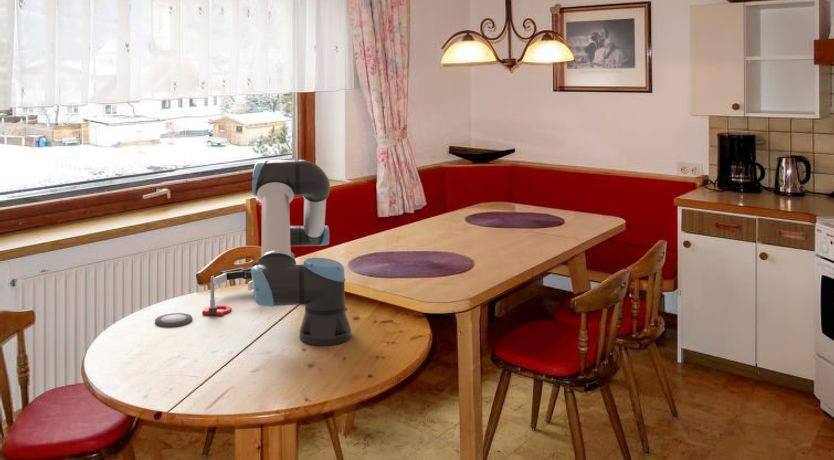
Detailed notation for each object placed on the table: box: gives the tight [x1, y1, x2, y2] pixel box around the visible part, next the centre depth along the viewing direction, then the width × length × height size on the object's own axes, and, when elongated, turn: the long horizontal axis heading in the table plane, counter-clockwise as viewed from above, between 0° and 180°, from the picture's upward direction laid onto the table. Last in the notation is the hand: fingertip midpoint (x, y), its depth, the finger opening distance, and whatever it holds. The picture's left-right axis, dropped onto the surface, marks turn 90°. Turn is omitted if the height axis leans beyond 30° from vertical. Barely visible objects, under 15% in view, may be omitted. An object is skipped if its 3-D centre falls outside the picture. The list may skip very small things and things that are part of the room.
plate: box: [154, 312, 193, 328], centre depth 231 cm, size 11×11×1 cm
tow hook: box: [201, 275, 232, 317], centre depth 240 cm, size 8×13×9 cm
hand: (231, 284), depth 247 cm, fingers open, 13 cm apart
